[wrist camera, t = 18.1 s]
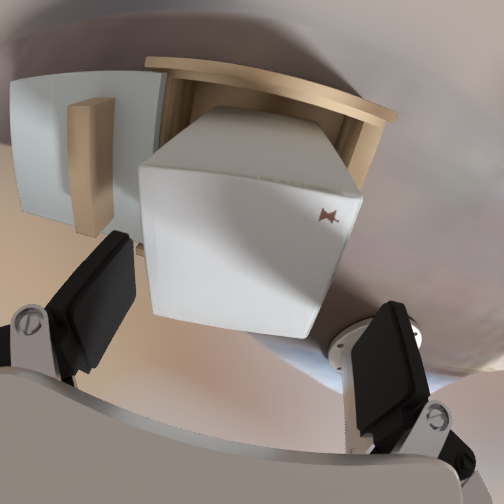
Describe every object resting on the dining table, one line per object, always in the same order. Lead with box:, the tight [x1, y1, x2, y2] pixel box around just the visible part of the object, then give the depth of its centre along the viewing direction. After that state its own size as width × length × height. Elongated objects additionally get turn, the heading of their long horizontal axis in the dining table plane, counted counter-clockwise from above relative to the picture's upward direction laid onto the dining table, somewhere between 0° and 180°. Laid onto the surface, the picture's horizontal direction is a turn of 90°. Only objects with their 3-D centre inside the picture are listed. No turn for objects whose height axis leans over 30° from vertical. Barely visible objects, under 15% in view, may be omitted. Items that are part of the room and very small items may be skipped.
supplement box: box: [138, 106, 363, 339], centre depth 15 cm, size 7×7×13 cm
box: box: [136, 56, 398, 257], centre depth 18 cm, size 13×13×7 cm
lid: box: [10, 71, 168, 244], centre depth 14 cm, size 13×11×3 cm
